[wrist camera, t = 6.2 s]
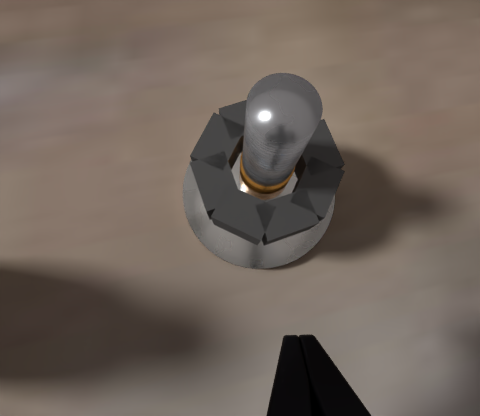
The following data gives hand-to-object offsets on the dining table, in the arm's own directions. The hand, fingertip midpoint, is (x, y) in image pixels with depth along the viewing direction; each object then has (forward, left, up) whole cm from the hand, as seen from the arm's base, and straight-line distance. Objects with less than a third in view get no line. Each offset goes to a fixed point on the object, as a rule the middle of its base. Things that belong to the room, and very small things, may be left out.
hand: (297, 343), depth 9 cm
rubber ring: (+7, +3, -9) cm, 12 cm away
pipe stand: (+7, +3, -13) cm, 16 cm away
